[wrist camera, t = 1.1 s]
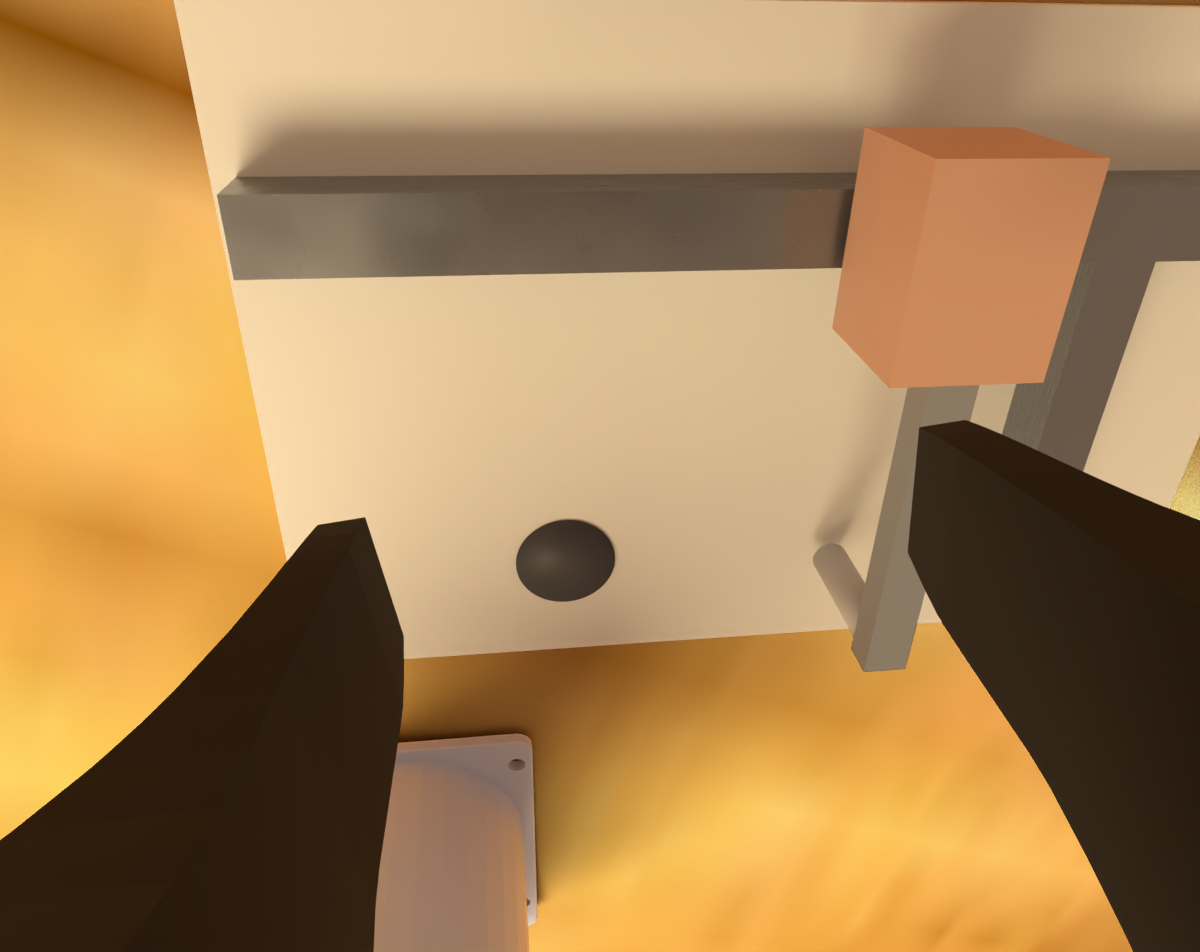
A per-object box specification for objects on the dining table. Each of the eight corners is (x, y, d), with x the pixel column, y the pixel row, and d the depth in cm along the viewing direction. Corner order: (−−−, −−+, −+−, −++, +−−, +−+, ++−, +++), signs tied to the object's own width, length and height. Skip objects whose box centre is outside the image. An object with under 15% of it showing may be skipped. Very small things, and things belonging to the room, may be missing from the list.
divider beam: (1117, 523, 26) (1175, 574, 24) (318, 568, 23) (303, 629, 21) (1257, 160, 21) (1346, 184, 19) (247, 166, 18) (217, 194, 16)
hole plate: (1107, 588, 27) (1128, 610, 26) (313, 641, 25) (307, 667, 24) (1336, 7, 19) (1379, 10, 18) (187, -12, 16) (170, -10, 16)
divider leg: (879, 567, 24) (953, 679, 20) (772, 574, 23) (827, 689, 20) (981, 116, 18) (1111, 157, 14) (840, 116, 18) (936, 158, 14)
